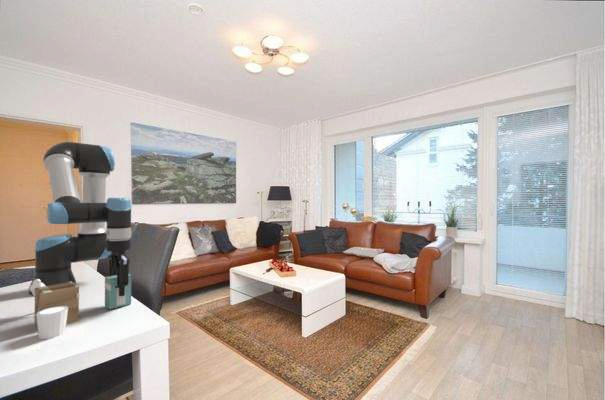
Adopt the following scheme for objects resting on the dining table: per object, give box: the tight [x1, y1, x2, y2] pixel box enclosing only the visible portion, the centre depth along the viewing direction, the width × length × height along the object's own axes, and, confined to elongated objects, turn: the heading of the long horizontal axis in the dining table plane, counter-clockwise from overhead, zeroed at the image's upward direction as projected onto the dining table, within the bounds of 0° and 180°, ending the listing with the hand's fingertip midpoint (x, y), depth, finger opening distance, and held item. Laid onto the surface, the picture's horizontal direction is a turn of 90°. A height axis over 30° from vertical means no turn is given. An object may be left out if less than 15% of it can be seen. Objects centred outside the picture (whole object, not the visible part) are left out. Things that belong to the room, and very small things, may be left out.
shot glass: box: [36, 306, 68, 340], centre depth 79 cm, size 7×7×7 cm
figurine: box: [29, 279, 45, 317], centre depth 92 cm, size 7×4×12 cm, turn 45°
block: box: [104, 273, 132, 310], centre depth 100 cm, size 5×7×11 cm, turn 142°
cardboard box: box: [34, 281, 80, 329], centre depth 86 cm, size 9×9×11 cm
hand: (118, 302), depth 100 cm, fingers closed on block, 4 cm apart
